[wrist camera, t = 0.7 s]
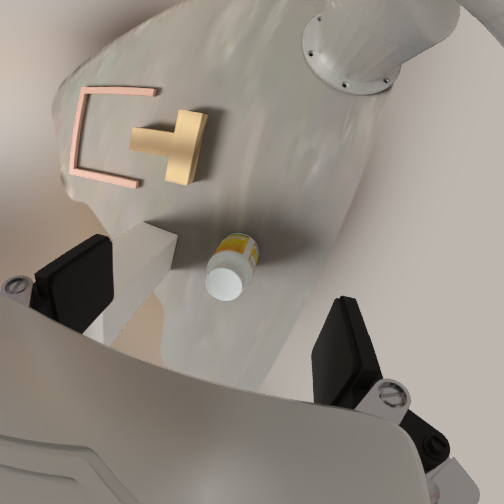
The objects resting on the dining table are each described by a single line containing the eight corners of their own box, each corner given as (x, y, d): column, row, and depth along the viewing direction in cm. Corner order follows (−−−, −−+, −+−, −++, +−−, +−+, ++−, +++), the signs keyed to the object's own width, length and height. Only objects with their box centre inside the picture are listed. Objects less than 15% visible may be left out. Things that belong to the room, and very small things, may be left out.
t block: (146, 106, 31) (137, 104, 29) (208, 115, 31) (202, 113, 29) (135, 169, 35) (125, 171, 32) (193, 182, 35) (186, 185, 32)
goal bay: (84, 87, 30) (81, 87, 29) (156, 89, 30) (154, 88, 29) (72, 173, 36) (68, 173, 35) (138, 187, 36) (135, 188, 35)
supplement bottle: (267, 251, 37) (260, 287, 28) (240, 275, 39) (226, 315, 30) (238, 223, 36) (221, 252, 27) (211, 249, 38) (189, 283, 29)
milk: (178, 234, 38) (84, 332, 18) (170, 270, 40) (90, 375, 20) (141, 220, 38) (33, 299, 17) (135, 256, 40) (43, 345, 20)
